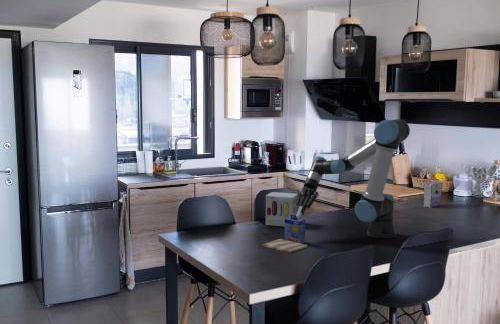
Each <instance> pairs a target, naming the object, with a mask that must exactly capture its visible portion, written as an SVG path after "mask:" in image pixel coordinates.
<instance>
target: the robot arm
mask: <svg viewBox="0 0 500 324" xmlns="http://www.w3.org/2000/svg"><path fill="white" fill-rule="evenodd" d="M410 132H411V129H410V126H409V123H408V122H407V121H405V120H403V119H398V118H396V119H385V120H382V121H380V122H378V123H377V124H376V125H375V127H374V129H373V136H374V138H373V139H372V140H370V141H368V142H367V143H365V144H363V145H362V146H361V147H359V148H357V149H356V150H355V151H352V152H351V153H350V154H348V155H346V156H345V157H343V158H338V159H333V160H332V159H331V160H328V159H326V158H325V157H322V156H316V157H315V158H314V159H313V161H312V163H311V167H310V169H309V171H308V173H307V176H306V179H305V181H304V183H303V187H302V188H301V189H300V190H299V189H297V190H296V192H297V193H296V194H297V200H296V205H297V206H298V209H297V214H296V217H297V218H299V219H302V218H301V217H302V216H303V214H304V213H305V211H306V209H310V208H311V206H312V205H313V204H314V202H315V201H316V199H317V198H318V197H319V196H320V194H319V192H318V191H317V190H318V187H319V184H320V182H321V180H322V177H323V176H324V175H340V174H343V173H345V172H351V171H353V170H354V169H355V167H357V166H359V165H360V164H362V163H363V162H365V161H367V160H369V159H371V158H372V157H373V161H372V166H371V170H370V173H369V177H368V182H367V185H366V188H365V191H363V192H362V193H361V196H360V200H359V201H357V202H356V203H355V206H354V213H355V215H356V216H357V219H359V220H360V221H362V222H365V223H369V225H368V228H367V232H366V233H367V234H366V235H367V236H369V237H370V238H375V239H382V240H383V239H384V240H386V239H393V238H396V237H397V231H396V227H395V224H394V205H395V204H394V202H395V200H394V196H393V195H392V194H391V193H390V194H389V193H384V190H385V187H386V183H387V178H388V175H389V173H390V171H389V170H390V169H391V163H392V161H393V156H394V153H395V151H398V149H399V146H400V143H401V142H404V141H405V140H407V138H408V137H409V135H410Z"/></svg>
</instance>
